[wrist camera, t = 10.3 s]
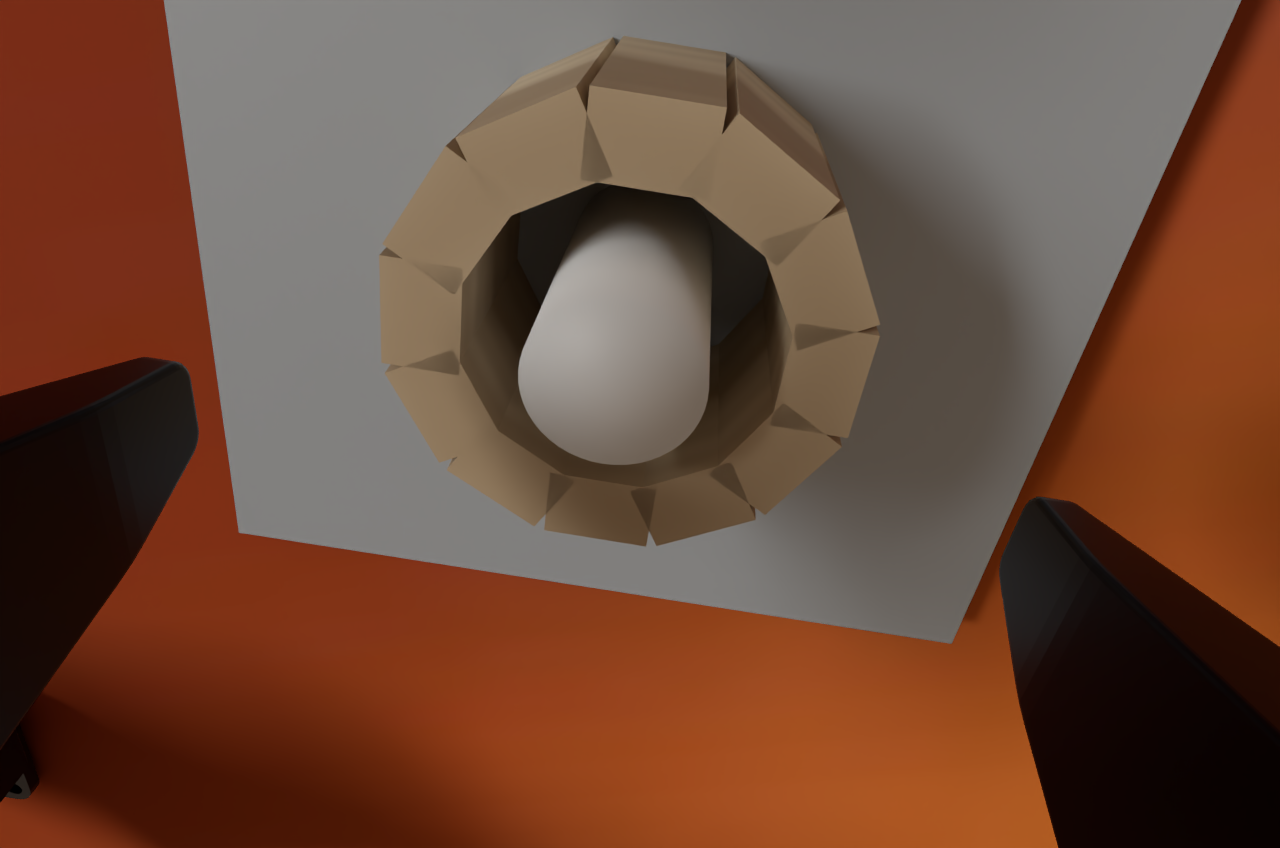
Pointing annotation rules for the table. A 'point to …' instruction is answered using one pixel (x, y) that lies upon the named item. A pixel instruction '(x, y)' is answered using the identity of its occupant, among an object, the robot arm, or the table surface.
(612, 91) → the wooden ring
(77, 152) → the table surface
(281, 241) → the post board
